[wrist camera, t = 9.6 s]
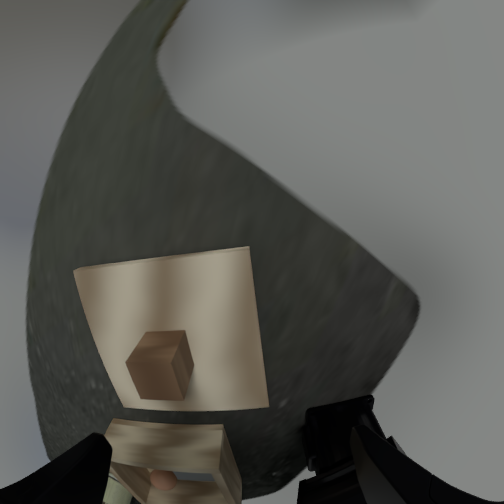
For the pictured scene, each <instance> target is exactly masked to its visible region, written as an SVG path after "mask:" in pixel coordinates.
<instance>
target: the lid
mask: <svg viewBox="0 0 504 504" xmlns="http://www.w3.org/2000/svg"><path fill="white" fill-rule="evenodd" d="M73 272H74V276H75V280H76V284H77V288H78V291H79V295H80V298H81V302H82V305H83V308H84V312H85V315H86V318H87V321H88V324H89V327H90V330H91V332H92V335H93V338H94V341H95V343H96V346H97V348H98V351H99V354H100V356H101V358H102V361H103V363H104V366H105V368H106V370H107V373H108V375H109V377H110V379H111V381H112V384H113V386H114V388H115V390H116V392H117V394H118V396H119V398H120V400H121V402H122V404H123V406H124V407H127V408H137V409H150V410H167V411H223V410H241V409H254V408H264V407H269V401H268V393H267V385H266V377H265V369H264V361H263V353H262V345H261V337H260V329H259V321H258V313H257V305H256V297H255V289H254V281H253V273H252V265H251V257H250V249H249V246H248V247H239V248H231V249H223V250H215V251H206V252H198V253H190V254H182V255H174V256H166V257H158V258H150V259H142V260H134V261H126V262H118V263H111V264H103V265H95V266H87V267H80V268H78V269H76V270H74V271H73Z"/></svg>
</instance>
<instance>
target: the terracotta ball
mask: <svg viewBox="0 0 504 504" xmlns="http://www.w3.org/2000/svg"><path fill="white" fill-rule="evenodd" d="M150 481H151V483H152V485H153V486H154V487H155V488H157V489H159V490H162V491H168V490H171V489H173V488H174V487H175V486H176V484H177V477H176V476H175V474H174V473H173V472H172V471H166V470H157V469H154V470H153V471H152V472H151V474H150Z"/></svg>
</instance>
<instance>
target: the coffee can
mask: <svg viewBox="0 0 504 504" xmlns="http://www.w3.org/2000/svg"><path fill="white" fill-rule="evenodd" d="M132 496H133V495H132V494H131V493H130V492H129V491H128V490H127V489H126V488H125V487H124V486H123V485H122V484H121V483H120V482H119V481H118V480H117V479H116V478H115V477H114V475H113V474H112V473H110V472H109V478H108V483H107V487H106V491H105V495H104V499H103V503H102V504H130V502H131V499H132Z"/></svg>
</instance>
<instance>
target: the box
mask: <svg viewBox="0 0 504 504" xmlns="http://www.w3.org/2000/svg"><path fill="white" fill-rule="evenodd" d="M104 436H105V437H106V439H107V440H108V442H109V443H110V445H111V446H112V449H113V452H112V458H111V465H110V472H111V473H112V474H113V475H114V477H115V478H116V479H117V480H118V481H119V482H120V483H121V484H122V485H123V486H124V487H125V488H126V489H127V490H128V491H129V492H130V493H131V494H132V495H133V496H134V497H135V498H136V499H137V500H138V501H139V502H140V503H141V504H241V501H242V479H241V476H240V473H239V470H238V468H237V465H236V462H235V459H234V456H233V453H232V450H231V447H230V444H229V441H228V438H227V435H226V432H225V429H224V426H223V424H215V425H188V424H164V423H150V422H139V421H130V420H123V419H115V418H113V420H112V421H111V423H110V425H109V427H108V429H107V431H106V433H105V435H104ZM154 469H157V470H166V471H172V472H173V471H175V472H188V473H211V474H212V476H213V478H214V480H215V481H194V480H181V479H177V484H176V486H175V487H174V488H173V489H171V490H168V491H162V490H159V489H157V488H155V487H154V486H153V485H152V483H151V481H150V474H151V472H152V471H153V470H154Z"/></svg>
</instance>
